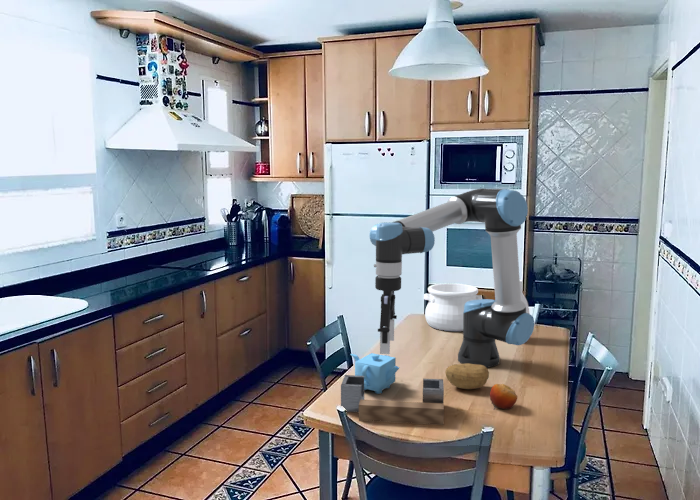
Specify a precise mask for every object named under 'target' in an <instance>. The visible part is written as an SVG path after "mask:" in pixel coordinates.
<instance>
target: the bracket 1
mask: <svg viewBox="0 0 700 500" xmlns="http://www.w3.org/2000/svg"><path fill="white" fill-rule="evenodd" d="M360 399H362V400H365V390H364V376H356V375H355V374H354V375H351V374H350V375H349V374H345V375H344V377H343V379H342V382H341V384H340V407H341V406H343V407H344V408H345V409H346V410H347V412H348V413H359V402H360Z"/></svg>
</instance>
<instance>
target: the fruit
mask: <svg viewBox="0 0 700 500" xmlns="http://www.w3.org/2000/svg"><path fill="white" fill-rule="evenodd" d="M489 399H490V402H491V404H492V405H493V410H495V409H502V410H510V409H512V408H513V407H514V406H515V404H516V403H517V401H518V395H517V394H516V391H515V390H514V389H513V388H511V387H510V386H509V385H507V384H505V383H495V384H494V385H492V387H491V389H490V392H489Z"/></svg>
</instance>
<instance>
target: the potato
mask: <svg viewBox="0 0 700 500" xmlns="http://www.w3.org/2000/svg"><path fill="white" fill-rule="evenodd" d="M444 373H445V377H446V380H447V381H448V382H449V383H450V384H451V385H452V386H454V387H456V388H458V389H463V390H474V389H480V388H482V387H484V386H485V385H486V384H487V381H488V379H489V377H490V371H489V369H488V367H485V366H483V365H477V364H469V363H466V364H462V363H457V364H452V365H449V366H447V368H446V369H445V372H444Z"/></svg>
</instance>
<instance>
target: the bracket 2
mask: <svg viewBox="0 0 700 500" xmlns="http://www.w3.org/2000/svg"><path fill="white" fill-rule="evenodd" d="M444 388H445V387H444V379H443V378H422V402H423V403H445V402H444V397H445V395H444V394H445V389H444Z"/></svg>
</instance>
